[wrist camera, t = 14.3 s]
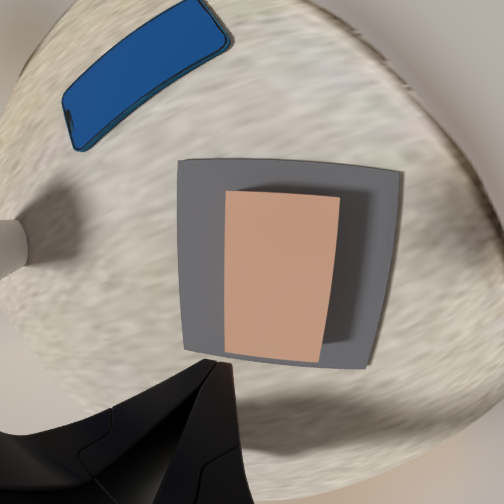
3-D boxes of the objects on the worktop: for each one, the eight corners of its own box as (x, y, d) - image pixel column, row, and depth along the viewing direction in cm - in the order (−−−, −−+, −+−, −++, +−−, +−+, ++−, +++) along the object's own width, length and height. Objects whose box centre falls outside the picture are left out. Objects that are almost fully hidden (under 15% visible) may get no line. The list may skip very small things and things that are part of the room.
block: (232, 335, 19) (317, 344, 18) (224, 352, 17) (318, 362, 16) (235, 190, 16) (335, 196, 15) (225, 190, 14) (339, 197, 13)
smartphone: (234, 44, 14) (75, 157, 18) (237, 50, 15) (83, 157, 18) (195, -7, 13) (59, 96, 17) (199, -1, 14) (66, 98, 18)
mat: (364, 366, 18) (365, 369, 18) (186, 346, 20) (184, 349, 20) (397, 172, 14) (399, 172, 14) (180, 160, 17) (177, 160, 16)
